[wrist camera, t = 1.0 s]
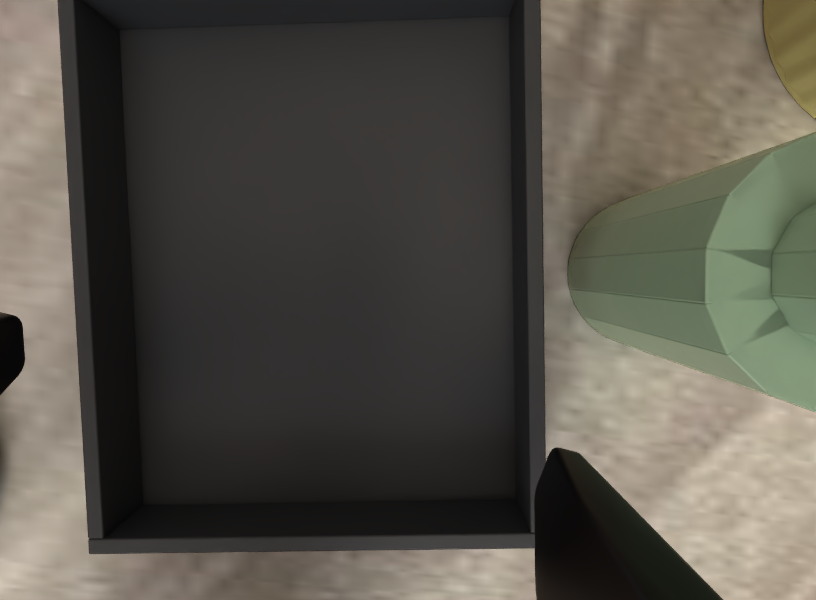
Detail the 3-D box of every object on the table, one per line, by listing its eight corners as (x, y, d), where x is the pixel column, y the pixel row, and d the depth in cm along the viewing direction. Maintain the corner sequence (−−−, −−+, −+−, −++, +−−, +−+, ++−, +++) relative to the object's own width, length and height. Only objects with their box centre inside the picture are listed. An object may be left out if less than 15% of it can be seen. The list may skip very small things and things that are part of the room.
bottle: (714, 343, 23) (1231, 468, 8) (567, 346, 23) (824, 475, 8) (715, 196, 22) (1254, 59, 8) (566, 200, 23) (830, 72, 8)
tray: (527, 507, 23) (547, 548, 20) (137, 512, 24) (88, 554, 20) (521, 7, 22) (540, -43, 19) (111, 21, 23) (55, -25, 19)
